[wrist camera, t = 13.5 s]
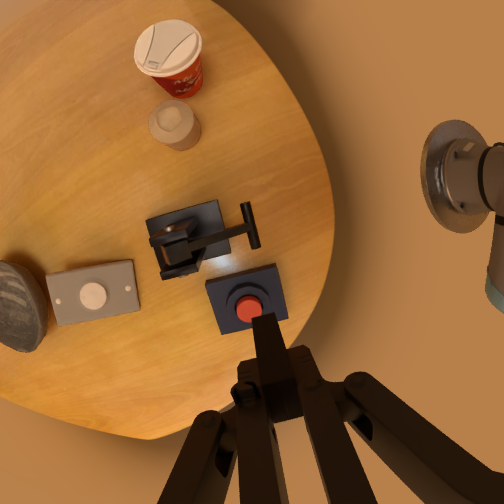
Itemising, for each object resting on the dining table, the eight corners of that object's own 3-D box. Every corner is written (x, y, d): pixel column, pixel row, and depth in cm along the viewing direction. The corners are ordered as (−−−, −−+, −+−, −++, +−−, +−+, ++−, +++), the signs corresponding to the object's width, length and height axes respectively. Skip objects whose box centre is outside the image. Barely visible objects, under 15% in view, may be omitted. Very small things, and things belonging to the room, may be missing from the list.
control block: (275, 263, 44) (278, 269, 41) (286, 313, 46) (290, 323, 43) (205, 280, 44) (203, 288, 41) (222, 330, 46) (221, 341, 43)
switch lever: (245, 201, 37) (253, 200, 35) (256, 245, 39) (265, 247, 36) (155, 229, 32) (158, 230, 30) (170, 277, 34) (175, 281, 32)
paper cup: (197, 111, 38) (181, 80, 24) (151, 97, 37) (118, 65, 23) (218, 67, 36) (213, 22, 23) (172, 55, 35) (151, 10, 21)
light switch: (141, 313, 43) (57, 329, 35) (135, 300, 48) (59, 314, 40) (133, 261, 41) (44, 277, 33) (128, 254, 46) (48, 267, 38)
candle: (157, 141, 38) (136, 130, 29) (176, 109, 37) (160, 89, 28) (189, 157, 39) (176, 150, 30) (208, 124, 38) (201, 107, 29)
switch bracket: (217, 199, 41) (211, 206, 30) (231, 251, 43) (231, 277, 32) (147, 219, 41) (118, 233, 30) (162, 269, 43) (141, 298, 32)
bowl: (61, 264, 42) (37, 279, 34) (63, 346, 46) (45, 368, 38) (-2, 241, 39) (-28, 251, 32) (3, 318, 43) (-17, 333, 35)
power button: (257, 292, 42) (258, 297, 40) (263, 313, 43) (264, 319, 41) (233, 298, 42) (233, 303, 40) (240, 319, 43) (240, 325, 41)
